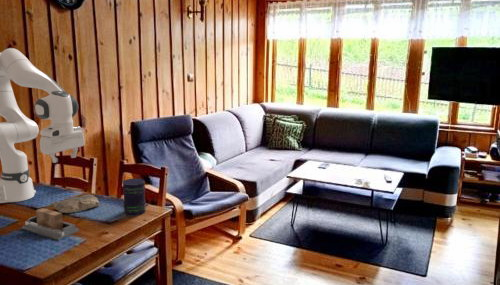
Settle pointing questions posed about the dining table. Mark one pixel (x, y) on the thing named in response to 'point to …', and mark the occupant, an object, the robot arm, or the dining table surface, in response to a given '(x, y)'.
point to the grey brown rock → (77, 204)
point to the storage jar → (134, 196)
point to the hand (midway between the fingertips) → (64, 159)
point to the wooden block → (49, 218)
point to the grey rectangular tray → (49, 229)
